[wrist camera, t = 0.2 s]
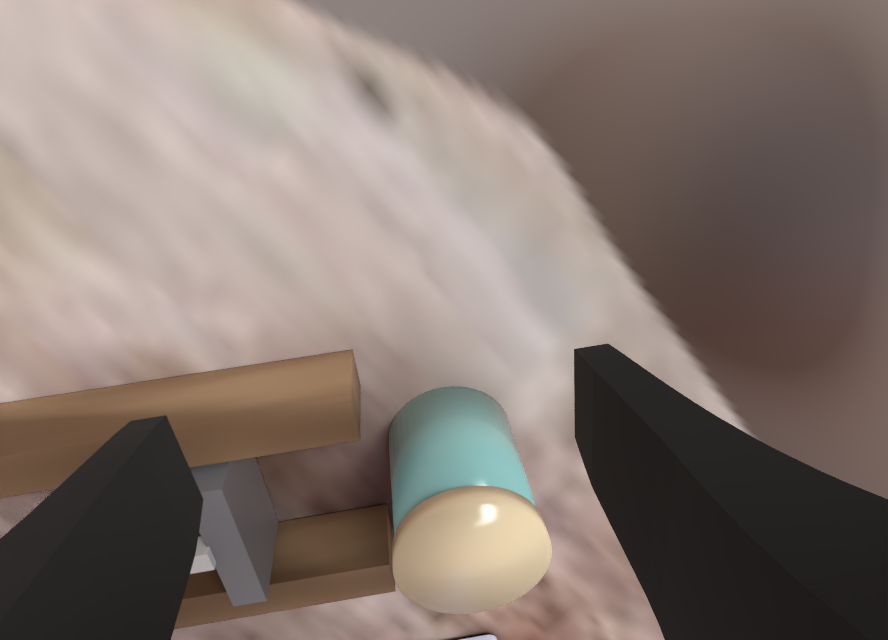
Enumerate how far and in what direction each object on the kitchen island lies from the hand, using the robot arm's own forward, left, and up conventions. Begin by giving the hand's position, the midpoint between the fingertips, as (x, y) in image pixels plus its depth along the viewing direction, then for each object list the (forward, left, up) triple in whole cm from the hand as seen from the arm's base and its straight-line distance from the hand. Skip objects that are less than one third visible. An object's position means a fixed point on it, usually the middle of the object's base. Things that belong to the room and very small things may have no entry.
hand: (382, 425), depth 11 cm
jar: (-9, -2, -10) cm, 14 cm away
